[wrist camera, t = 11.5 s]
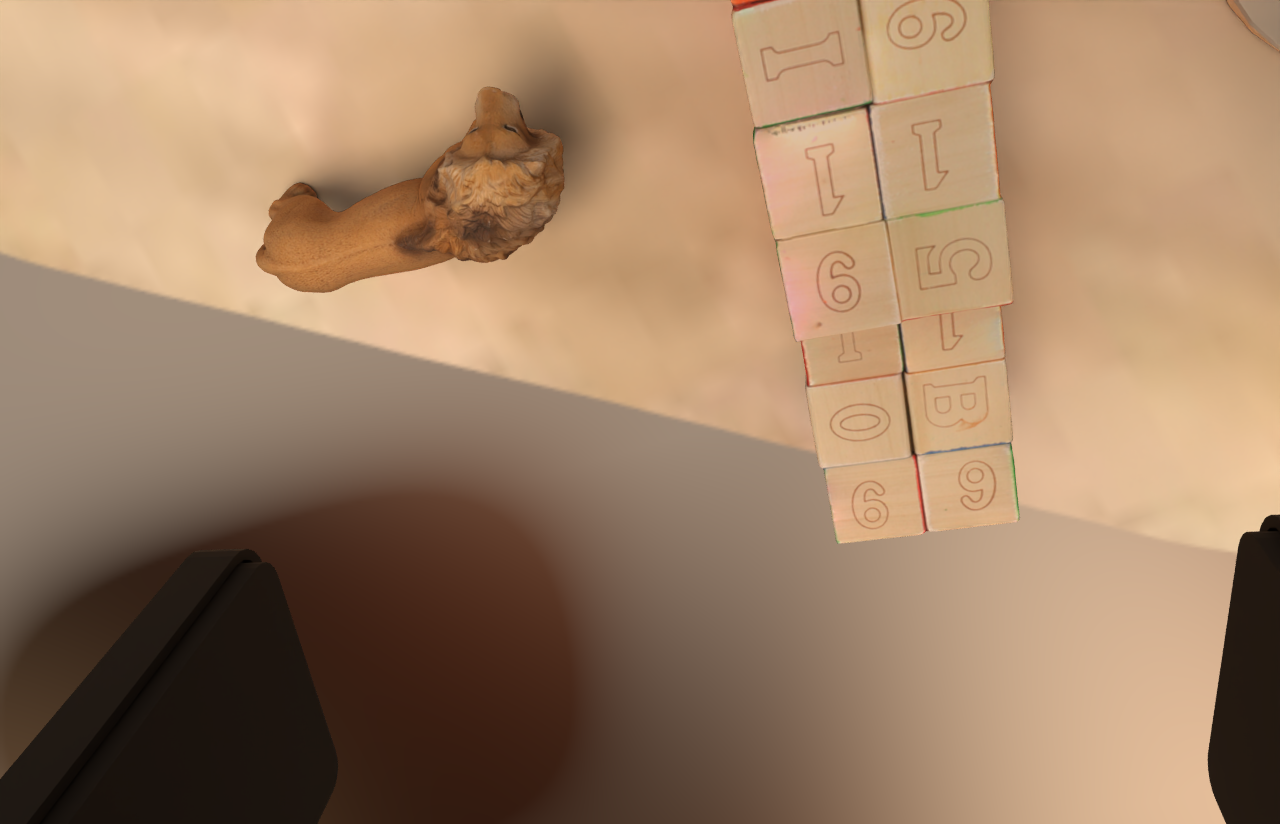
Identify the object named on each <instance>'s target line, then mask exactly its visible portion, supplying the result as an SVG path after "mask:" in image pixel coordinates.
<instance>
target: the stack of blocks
mask: <svg viewBox="0 0 1280 824" xmlns="http://www.w3.org/2000/svg"><path fill="white" fill-rule="evenodd" d="M731 3H732V6H733V10H732V22H733V27H734V32H735V37H736V42H737V47H738V52H739V56H740V61H741V66H742V71H743V76H744V81H745V86H746V91H747V95H748V100H749V105H750V110H751V114H752V119H753V123H754V126H755V127H754V131H753V143H754V148H755V153H756V159H757V163H758V167H759V171H760V176H761V182H762V187H763V192H764V197H765V202H766V207H767V212H768V216H769V221H770V226H771V230H772V234H773V236H774V239H775V241H776V248H777V255H778V260H779V265H780V270H781V275H782V279H783V284H784V289H785V294H786V299H787V304H788V309H789V314H790V319H791V324H792V328H793V334H794V339H795V340H796V342H798V341H801V345H802V351H803V357H804V363H805V369H806V385H805V389H806V395H807V401H808V407H809V413H810V420H811V426H812V431H813V436H814V442H815V447H816V452H817V458H818V463H819V466H820V467H821V468H823V470H824V474H825V479H826V486H827V491H828V497H829V503H830V508H831V514H832V520H833V527H834V531H835V538H836V542H837V543H849V542H858V541H867V540H875V539H883V538H892V537H903V536H912V535H922V534H923V533H925V532H926V531H942V530H951V529H961V528H970V527H976V526H986V525H994V524H1003V523H1011V522H1018V520H1019V507H1018V497H1017V488H1016V478H1015V466H1014V459H1013V452H1012V445H1011V442H1012V440H1013V432H1012V421H1011V411H1010V401H1009V391H1008V380H1007V370H1006V362H1005V344H1004V332H1003V323H1002V315H1001V306H1004V305H1008V304H1012V303H1013V302H1014V298H1013V288H1012V277H1011V266H1010V256H1009V246H1008V238H1007V227H1006V216H1005V205H1004V200H1003V198H1002V197H1001V195H1000V187H999V173H998V162H997V151H996V141H995V131H994V118H993V107H992V98H991V90H990V84H991V82H992V81H993V79H994V73H995V72H994V59H993V46H992V36H991V25H990V14H989V1H988V0H731Z"/></svg>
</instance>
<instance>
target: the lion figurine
mask: <svg viewBox="0 0 1280 824" xmlns="http://www.w3.org/2000/svg"><path fill="white" fill-rule="evenodd" d="M475 112H476V120H475V121H474V122H473V124H472V125H471V127H470V129H469V131H468V133H467V134H466V136H465V137H464V139H463V140H462V142H459V143H457V144H455V145H453V146H451V147H450V148H448V149H447V151H446V152H445V153H444V154H443V155H442V156H441V157H439V158H438V159H437V160H436V161H435V162H434V163H433V164H432V166H431V167H430V168H429V169H428V171H427V172H426V174H425V175H424V177H423V178H418V179H412V180H408V181H404V182H401V183H398V184H395V185H392V186H389V187H387V188H385V189H383V190H380V191H378V192H377V193H375V194H373V195H371V196H369V197H366V198H364V199H362V200H361V201H359V202H357V203H356V204H354V205H353V206H351V207H350V208H348V209H347V210H345V211H342V212H334V211H333V210H331V209H330V208H329V207H328V206H327V205H326V204H325V203H324V202H322V201H321V200H319V199H317V198H316V197H317V196H316V193H315V192H314V191H313V190H312V189H311V187H309V186H308V185H305V184H303V183H297V184H294V185H293V186H291V187H290V188H289V189H288V190H287V191H286V192H285V193H284V194H283V196H282V197H281V198H280V199H279V200H275V201H274V202H273V203H272V205H271V207H270V209H269V216H270V218H271V219H272V221H271V222H270V224H269V226H268V227H267V229H266V231H265V234H264V244H263V245H262V246H261V248H260V249H259V250H258V252H257V254H256V262H257V264H258V266H259V267H260V268H261V269H262V270H263V271H265V272H267V273H270V274H272V275H275V276H277V277H278V279H279V280H280V281H281V282H282V283H283V284H284V285H286V286H288V287H290V288H292V289H294V290H297V291H302V292H319V293H325V292H331V291H334V290H337V289H339V288H341V287H343V286H345V285H347V284H349V283H352V282H355V281H358V280H362V279H365V278H370V277H375V276H382V275H388V274H394V273H399V272H405V271H412V270H417V269H421V268H425V267H428V266H431V265H435V264H438V263H442V262H445V261H447V260H450V259H452V258H454V257H456V258H457V259H458V260H461V261H467V260H473V261H476V262H482V263H488V262H492V261H495V260H498V259H502V260H505V259H507V258H508V256H509V255H510V254H512V253H513V252H514V251H516V250H517V249H518V247H520V246H522V245H525V244H529V243H531V242H532V241H533V239H534V237H535V236H536V235H537V234H538V233H539V232H541V231H543V229H544V225H545V224H546V223H548V222H549V221H551V219H552V217H553V215H554V214H556V212H557V206H558V205H559V203H560V193H561V192H562V190H563V189H564V175H563V173H564V170H563V159H562V154H563V146H562V143H561V140H560V137H559V136H558V137H557V136H556V135H555V134H553V133H547V132H546V131H545V130H544V129H539V130H534V129H530V128H527V127H526V124H525V122H524V119H523V116H522V113H521V111H520V106H519V102H518V100H517V98H516V97H515V96H513V95H512V94H509V93H507V92H503V91H501V90H500V89H498V88H494V87H485V88H482V89H481V90H480V91H479V93H478V98H477V100H476V103H475Z"/></svg>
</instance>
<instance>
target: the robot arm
mask: <svg viewBox="0 0 1280 824" xmlns="http://www.w3.org/2000/svg"><path fill="white" fill-rule="evenodd" d="M1227 2H1228V4H1229V6H1230V7H1231V9H1232V10H1233V11H1234V12H1235V13H1236V14H1237V15H1238V17H1239V18H1240V19H1241V20H1242V21H1243V22H1244V24H1245V25H1246V26H1247V27H1248V28H1249V29H1250V31H1251V32H1252V33H1254V34H1255V35H1256V36H1258V37H1259V38H1261V39H1262V40H1263V41H1265V42H1266V43H1268V44H1269V45H1270V46H1272V47H1273V48H1275V49H1276V50H1277V51H1279V52H1280V0H1227ZM1208 771H1209V778H1210V783H1211V787H1212V791H1213V794H1214V796H1215V799H1216V801H1217V803H1218V806H1219V808H1220V810H1221V813H1222V815H1223V817H1224V820H1225V822H1226V824H1280V515H1270V516H1268V517H1266V518H1265V519H1264V521H1263V523H1262V525H1261V528H1260V531H1259V532H1246V533H1244V534H1243V535H1242V537H1241V539H1240V542H1239V546H1238V553H1237V559H1236V566H1235V574H1234V580H1233V587H1232V593H1231V601H1230V608H1229V614H1228V621H1227V628H1226V635H1225V641H1224V648H1223V656H1222V662H1221V668H1220V675H1219V682H1218V689H1217V696H1216V702H1215V710H1214V716H1213V724H1212V730H1211V737H1210V743H1209V750H1208ZM337 772H338V761H337V755H336V750H335V747H334V744H333V741H332V738H331V735H330V732H329V729H328V726H327V723H326V720H325V717H324V714H323V711H322V708H321V705H320V702H319V699H318V696H317V693H316V690H315V687H314V684H313V681H312V678H311V674H310V671H309V668H308V665H307V662H306V659H305V656H304V653H303V650H302V647H301V644H300V641H299V638H298V635H297V632H296V629H295V626H294V623H293V620H292V617H291V614H290V611H289V608H288V605H287V601H286V599H285V596H284V592H283V589H282V586H281V583H280V580H279V578H278V574H277V572H276V570H275V568H274V567H273V566H272V565H271V564H270V563H267V562H262V561H261V559H260V557H259V556H258V555H257V554H256V553H255V552H254V551H252V550H249V549H231V550H230V549H229V550H200V551H197V552H193V553H192V554H191V555H190V556H189V557H187V558H186V559H185V561H184V562H183V563H182V564H181V565H180V567H179V568H178V569H177V570H176V571H175V572H174V574H173V575H172V576H171V577H170V578H169V580H168V581H167V582H166V583H165V584H164V586H163V587H162V588H161V589H160V590H159V591H158V593H157V594H156V595H155V596H154V597H153V599H152V600H151V601H150V602H149V603H148V605H147V606H146V607H145V608H144V609H143V611H142V612H141V613H140V614H139V615H138V616H137V618H136V619H135V620H134V621H133V622H132V623H131V625H130V626H129V627H128V628H127V629H126V631H125V632H124V633H123V634H122V635H121V637H120V638H119V639H118V640H117V641H116V642H115V644H114V645H113V646H112V647H111V648H110V650H109V651H108V652H107V653H106V654H105V656H104V657H103V658H102V659H101V660H100V662H99V663H98V664H97V665H96V666H95V667H94V669H93V670H92V671H91V672H90V673H89V675H88V676H87V677H86V678H85V679H84V681H83V682H82V683H81V684H80V685H79V687H78V688H77V689H76V690H75V691H74V692H73V694H72V695H71V696H70V697H69V698H68V700H67V701H66V702H65V703H64V704H63V705H62V707H61V708H60V709H59V710H58V711H57V712H56V714H55V715H54V716H53V717H52V719H51V720H50V721H49V722H48V723H47V724H46V726H45V727H44V728H43V729H42V730H41V732H40V733H39V734H38V735H37V736H36V737H35V739H34V740H33V741H32V742H31V743H30V745H29V746H28V747H27V748H26V749H25V750H24V752H23V753H22V754H21V755H20V756H19V758H18V759H17V760H16V761H15V762H14V763H13V765H12V766H11V767H10V768H9V769H8V771H7V772H6V773H5V774H4V776H3V777H2V778H1V779H0V824H317V823H318V821H319V819H320V817H321V815H322V813H323V811H324V809H325V807H326V805H327V803H328V801H329V799H330V797H331V794H332V792H333V790H334V787H335V784H336V779H337Z"/></svg>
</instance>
